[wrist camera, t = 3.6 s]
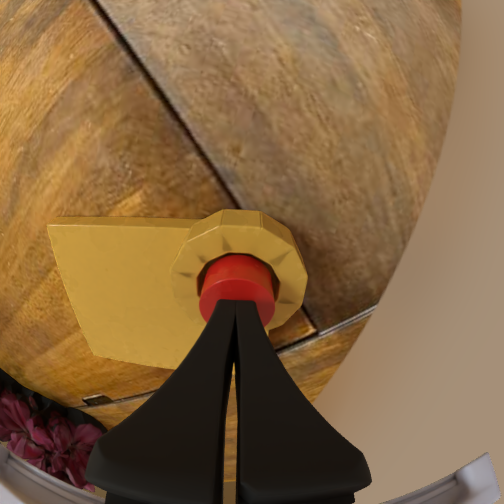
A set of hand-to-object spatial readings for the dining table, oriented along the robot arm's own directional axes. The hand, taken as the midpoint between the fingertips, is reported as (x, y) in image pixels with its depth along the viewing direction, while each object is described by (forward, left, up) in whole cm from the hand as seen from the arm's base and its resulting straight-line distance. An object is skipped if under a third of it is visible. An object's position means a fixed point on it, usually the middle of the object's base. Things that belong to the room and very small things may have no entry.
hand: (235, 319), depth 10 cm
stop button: (0, 0, -2) cm, 2 cm away
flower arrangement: (+33, +30, -5) cm, 44 cm away
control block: (+5, +4, -5) cm, 8 cm away
